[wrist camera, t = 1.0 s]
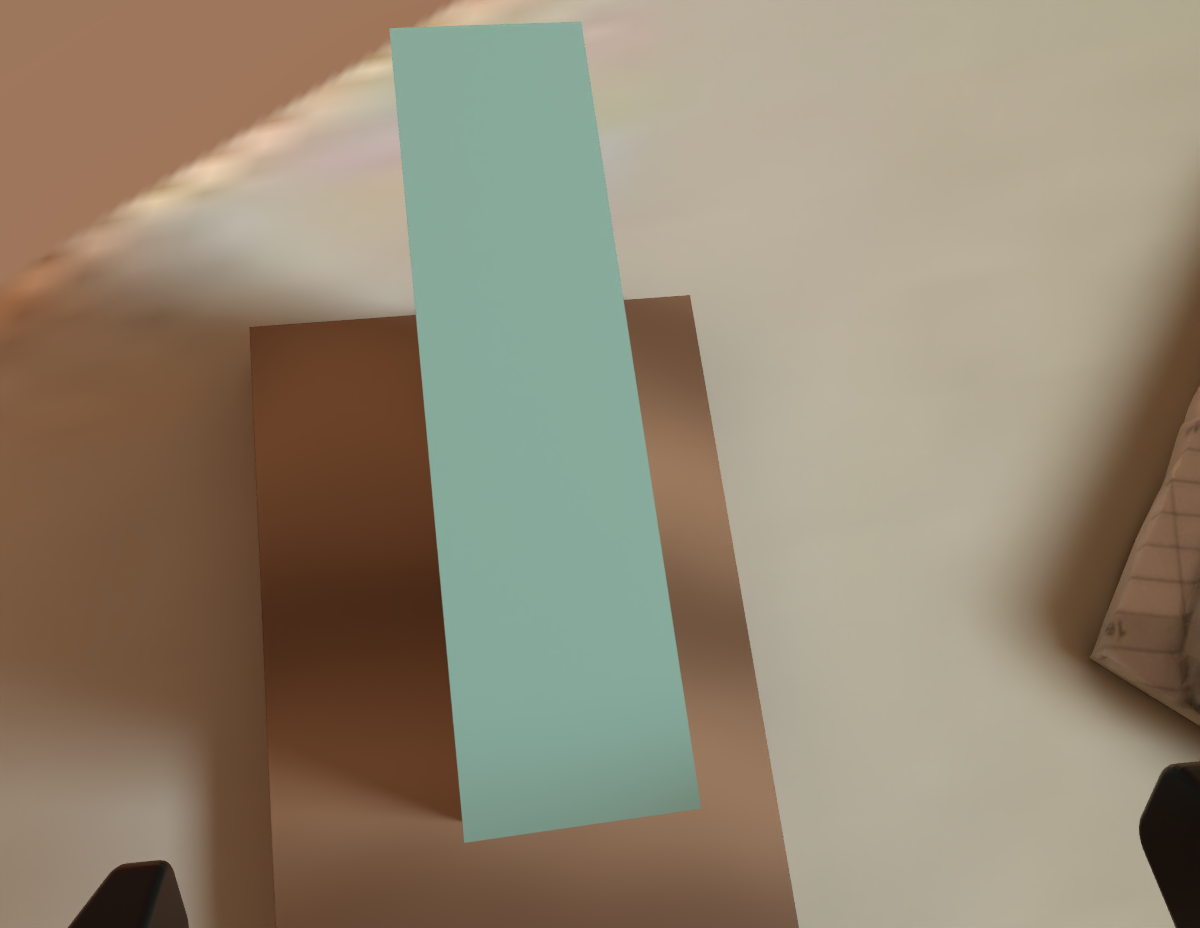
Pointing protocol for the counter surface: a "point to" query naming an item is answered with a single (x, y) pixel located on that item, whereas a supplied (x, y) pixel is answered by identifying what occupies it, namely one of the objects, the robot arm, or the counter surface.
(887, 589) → the counter surface
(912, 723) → the counter surface
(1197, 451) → the packaged product
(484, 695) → the mint green pillar
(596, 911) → the brown flat block
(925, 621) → the counter surface
